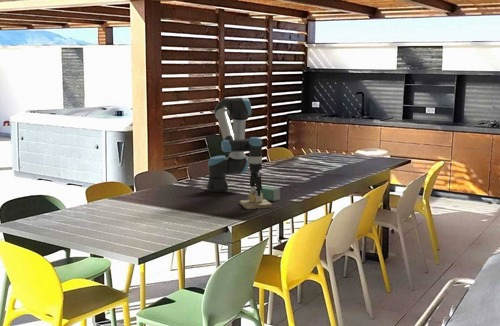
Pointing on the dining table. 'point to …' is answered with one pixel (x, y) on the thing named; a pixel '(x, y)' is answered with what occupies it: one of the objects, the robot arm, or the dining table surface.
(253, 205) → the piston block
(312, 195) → the dining table surface
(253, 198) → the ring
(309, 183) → the dining table surface
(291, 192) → the dining table surface
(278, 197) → the box
